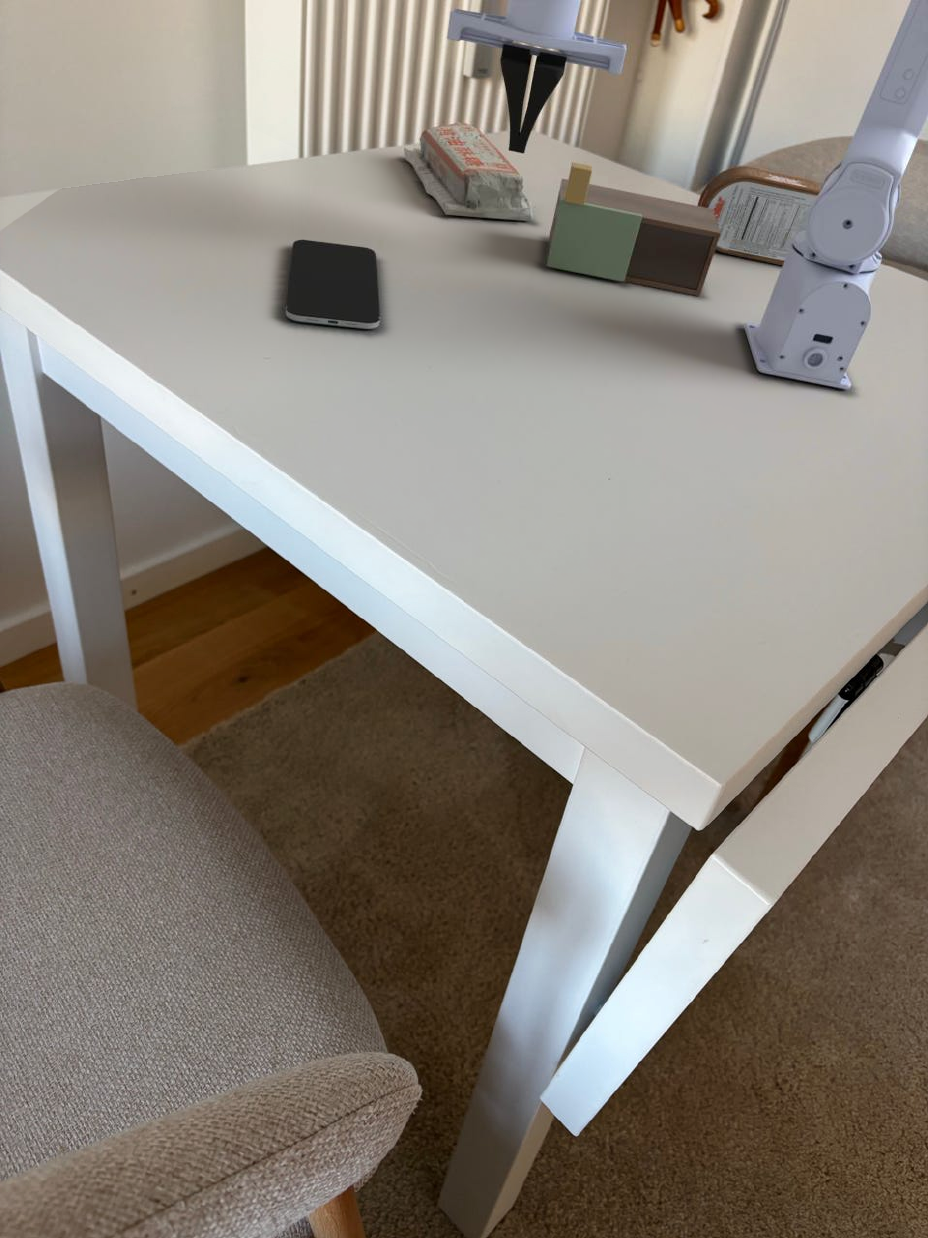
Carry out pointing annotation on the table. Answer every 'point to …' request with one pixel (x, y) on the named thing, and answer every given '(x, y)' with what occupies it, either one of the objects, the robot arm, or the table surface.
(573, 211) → the sliding door
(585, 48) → the robot arm
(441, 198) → the packaged product
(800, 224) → the tin
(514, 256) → the table surface
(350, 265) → the smartphone
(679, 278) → the cupboard
